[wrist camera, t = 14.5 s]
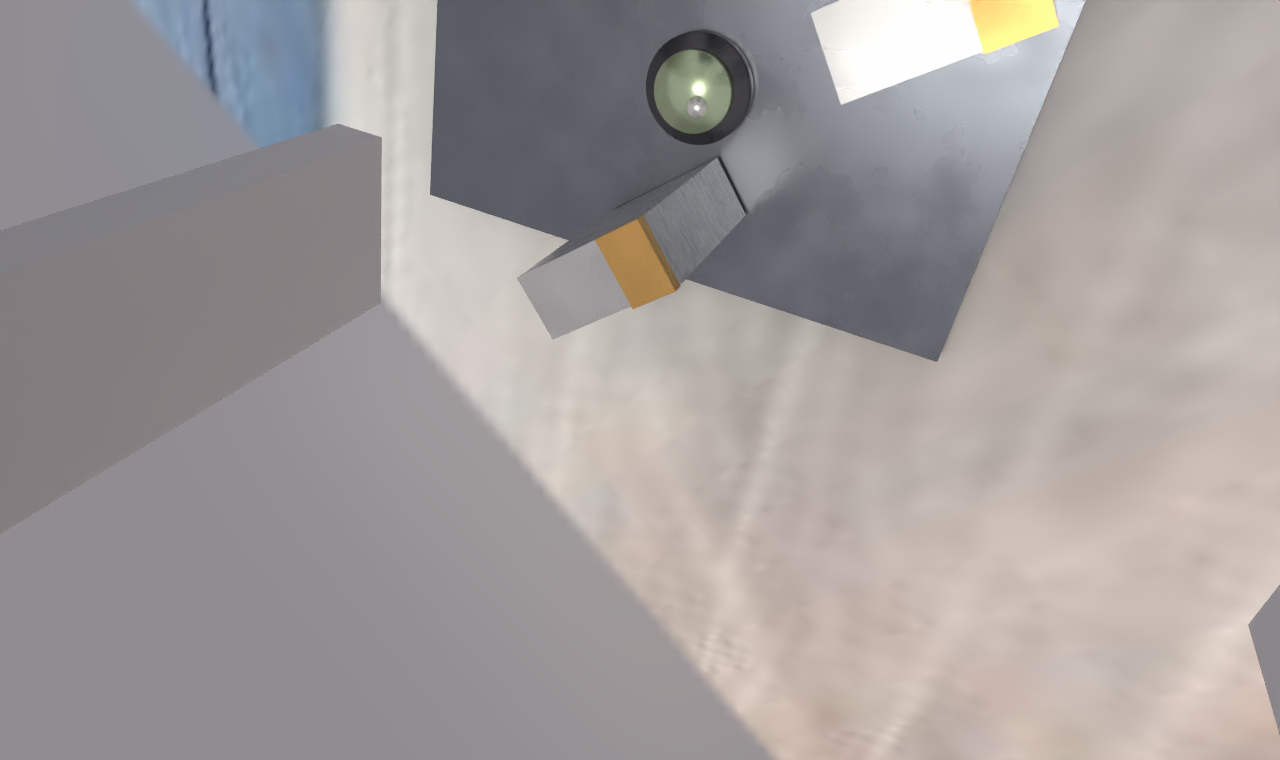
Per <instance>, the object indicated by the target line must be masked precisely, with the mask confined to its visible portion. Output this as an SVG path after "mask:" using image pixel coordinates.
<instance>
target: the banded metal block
mask: <svg viewBox="0 0 1280 760" xmlns="http://www.w3.org/2000/svg"><path fill="white" fill-rule="evenodd" d="M745 215H746V214H745V212H744V210H743V208H742V206H741V204H740V202H739V200H738V198H737V196H736V194H735V192H734V190H733V188H732V186H731V184H730V182H729V180H728V178H727V176H726V174H725V172H724V170H723V168H722V166H721V164H720V162H719V160H718V158H715V159H713V160H711V161H709V162H707V163H705V164H703V165H701V166H699V167H698V168H696V169H694V170H692V171H690V172H688V173H686V174H684V175H682V176H680V177H678V178H676V179H674V180H672V181H670V182H668V183H666V184H664V185H662V186H660V187H658V188H656V189H654V190H652V191H650V192H648V193H646V194H644V195H642V196H640V197H638V198H636V199H634V200H632V201H630V202H628V203H626V204H624V205H622V206H620V207H618V208H616V209H614V210H612V211H610V212H609V213H607V214H606V215H604V216H603V217H601V218H600V219H599V220H597V221H596V222H594V223H593V224H592V225H590V226H589V227H587V228H586V229H585V230H583V231H582V232H580V233H579V234H578V235H576V236H575V237H573V238H572V239H571V240H569V241H568V242H566V243H565V244H564V245H562V246H561V247H560V248H558V249H557V250H555V251H554V252H553V253H551V254H550V255H548V256H547V257H546V258H544V259H543V260H541V261H540V262H539V263H537V264H536V265H534V266H533V267H532V268H530V269H529V270H527V271H526V272H525V273H523V274H522V275H521V276H519V277H518V278H517V279H518V280H519V282H520V284H521V285H522V287H523V289H524V291H525V292H526V294H527V296H528V297H529V299H530V301H531V303H532V304H533V306H534V308H535V310H536V311H537V313H538V315H539V316H540V318H541V320H542V322H543V323H544V325H545V327H546V328H547V330H548V332H549V334H550V335H551V337H552V339H555V338H557V337H560V336H562V335H564V334H567V333H569V332H571V331H574V330H576V329H578V328H581V327H583V326H585V325H588V324H590V323H593V322H595V321H597V320H600V319H602V318H604V317H607V316H609V315H611V314H614V313H616V312H618V311H621V310H623V309H625V308H628V307H630V306H631V307H632V309H634V308H637V307H639V306H642V305H644V304H646V303H649V302H651V301H653V300H656V299H658V298H661V297H663V296H665V295H668V294H670V293H672V292H675V291H676V290H677V289H678V288H679V287H680V284H681V283H682V282H683V281H684V280H685V279H686V278H687V277H688V276H689V275H690V274H691V273H692V271H693V270H694V269H695V268H696V267H697V266H698V265H699V264H700V263H701V262H702V261H703V260H704V259H705V258H706V257H707V256H708V255H709V253H710V252H711V251H712V250H713V249H714V248H715V247H716V246H717V245H718V244H719V243H720V242H721V241H722V240H723V239H724V238H725V237H726V235H727V234H728V233H729V232H730V231H731V230H732V229H733V228H734V227H735V226H736V225H737V224H738V223H739V222H740V221H741V220H742V218H743V217H744V216H745Z"/></svg>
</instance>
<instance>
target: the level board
mask: <svg viewBox="0 0 1280 760" xmlns="http://www.w3.org/2000/svg"><path fill="white" fill-rule="evenodd" d="M835 1H837V0H438V4H437V30H436V56H435V82H434V108H433V134H432V160H431V186H430V195H433V196H436V197H439V198H442V199H445V200H448V201H451V202H454V203H457V204H460V205H463V206H467V207H470V208H473V209H476V210H479V211H482V212H485V213H488V214H491V215H494V216H497V217H500V218H503V219H506V220H509V221H512V222H515V223H518V224H521V225H524V226H527V227H530V228H533V229H536V230H539V231H542V232H545V233H548V234H551V235H554V236H557V237H560V238H563V239H567V240H571V239H572V238H573V237H575V236H576V235H578V234H579V233H580V232H582V231H583V230H585V229H586V228H587V227H589V226H590V225H592V224H593V223H594V222H596V221H597V220H599V219H600V218H601V217H603V216H604V215H606V214H607V213H609V212H610V211H612V210H614V209H616V208H618V207H620V206H622V205H624V204H626V203H628V202H630V201H632V200H634V199H636V198H638V197H640V196H642V195H644V194H646V193H648V192H650V191H652V190H654V189H656V188H658V187H660V186H662V185H664V184H666V183H668V182H670V181H672V180H674V179H676V178H678V177H680V176H682V175H684V174H686V173H688V172H690V171H692V170H694V169H696V168H698V167H699V166H701V165H703V164H705V163H707V162H709V161H711V160H713V159H715V158H718V160H719V162H720V164H721V166H722V168H723V170H724V172H725V174H726V176H727V178H728V180H729V182H730V184H731V186H732V188H733V190H734V192H735V194H736V196H737V198H738V200H739V202H740V204H741V206H742V208H743V210H744V212H745V214H746V215H745V216H744V217H743V218H742V220H741V221H740V222H739V223H738V224H737V225H736V226H735V227H734V228H733V229H732V230H731V231H730V232H729V233H728V234H727V235H726V237H725V238H724V239H723V240H722V241H721V242H720V243H719V244H718V245H717V246H716V247H715V248H714V249H713V250H712V251H711V252H710V253H709V255H708V256H707V257H706V258H705V259H704V260H703V261H702V262H701V263H700V264H699V265H698V266H697V267H696V268H695V269H694V270H693V271H692V273H691V274H690V275H689V276H688V277H687V278H686V279H688V280H691V281H694V282H697V283H700V284H703V285H706V286H709V287H712V288H715V289H718V290H721V291H724V292H727V293H730V294H733V295H736V296H739V297H742V298H745V299H748V300H751V301H754V302H757V303H760V304H763V305H766V306H770V307H773V308H776V309H779V310H782V311H785V312H788V313H791V314H794V315H797V316H800V317H803V318H806V319H809V320H812V321H815V322H818V323H821V324H824V325H827V326H830V327H833V328H836V329H839V330H842V331H845V332H848V333H851V334H854V335H857V336H860V337H863V338H866V339H870V340H873V341H876V342H879V343H882V344H885V345H888V346H891V347H894V348H897V349H900V350H903V351H906V352H909V353H912V354H915V355H918V356H921V357H924V358H927V359H930V360H933V361H936V362H937V361H938V358H939V356H940V353H941V351H942V349H943V346H944V344H945V341H946V339H947V336H948V334H949V331H950V329H951V327H952V324H953V322H954V319H955V317H956V314H957V312H958V310H959V307H960V305H961V302H962V300H963V297H964V295H965V293H966V290H967V288H968V285H969V283H970V280H971V278H972V276H973V273H974V271H975V268H976V266H977V263H978V261H979V258H980V256H981V254H982V251H983V249H984V246H985V244H986V241H987V239H988V237H989V234H990V232H991V229H992V227H993V224H994V222H995V220H996V217H997V215H998V212H999V210H1000V207H1001V205H1002V203H1003V200H1004V198H1005V195H1006V193H1007V190H1008V188H1009V186H1010V183H1011V181H1012V178H1013V176H1014V173H1015V171H1016V168H1017V166H1018V164H1019V161H1020V159H1021V156H1022V154H1023V151H1024V149H1025V147H1026V144H1027V142H1028V139H1029V137H1030V134H1031V132H1032V130H1033V127H1034V125H1035V122H1036V120H1037V117H1038V115H1039V113H1040V110H1041V108H1042V105H1043V103H1044V100H1045V98H1046V95H1047V93H1048V91H1049V88H1050V86H1051V83H1052V81H1053V78H1054V76H1055V74H1056V71H1057V69H1058V66H1059V64H1060V61H1061V59H1062V57H1063V54H1064V52H1065V49H1066V47H1067V44H1068V42H1069V40H1070V37H1071V35H1072V32H1073V30H1074V27H1075V25H1076V22H1077V20H1078V18H1079V15H1080V13H1081V10H1082V8H1083V5H1084V3H1085V1H1086V0H1055V2H1056V9H1057V16H1058V23H1059V26H1058V27H1056V28H1053V29H1050V30H1048V31H1045V32H1042V33H1040V34H1037V35H1034V36H1032V37H1029V38H1026V39H1024V40H1021V41H1018V42H1016V43H1013V44H1010V45H1008V46H1005V47H1002V48H1000V49H997V50H994V51H992V52H989V53H986V54H983V51H982V52H980V53H977V54H974V55H972V56H969V57H966V58H964V59H961V60H958V61H956V62H953V63H950V64H948V65H945V66H943V67H940V68H937V69H935V70H932V71H929V72H927V73H924V74H921V75H919V76H916V77H913V78H911V79H908V80H906V81H903V82H900V83H898V84H895V85H892V86H890V87H887V88H884V89H882V90H879V91H876V92H874V93H871V94H868V95H866V96H863V97H861V98H858V99H855V100H853V101H850V102H847V103H845V104H842V105H841V103H840V100H839V97H838V94H837V91H836V88H835V85H834V82H833V79H832V76H831V73H830V70H829V67H828V64H827V61H826V58H825V55H824V52H823V49H822V46H821V43H820V40H819V37H818V34H817V31H816V28H815V25H814V22H813V19H812V16H811V13H812V12H814V11H816V10H818V9H821V8H823V7H825V6H827V5H829V4H831V3H833V2H835Z"/></svg>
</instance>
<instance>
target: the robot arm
mask: <svg viewBox="0 0 1280 760" xmlns="http://www.w3.org/2000/svg"><path fill="white" fill-rule="evenodd" d="M381 157H382V138H381V137H378V136H375V135H372V134H369V133H366V132H362V131H359V130H356V129H353V128H350V127H347V126H344V125H340V124H336V125H333V126H330V127H326V128H323V129H320V130H317V131H314V132H311V133H307V134H304V135H301V136H298V137H295V138H292V139H288V140H285V141H282V142H279V143H276V144H273V145H269V146H266V147H263V148H260V149H257V150H254V151H251V152H247V153H244V154H241V155H238V156H235V157H231V158H228V159H225V160H222V161H219V162H216V163H213V164H209V165H206V166H203V167H200V168H197V169H193V170H190V171H187V172H184V173H181V174H178V175H174V176H171V177H168V178H165V179H162V180H159V181H155V182H152V183H149V184H146V185H143V186H140V187H136V188H133V189H130V190H127V191H124V192H121V193H117V194H114V195H111V196H108V197H105V198H102V199H99V200H95V201H92V202H89V203H86V204H83V205H79V206H77V207H73V208H70V209H67V210H64V211H60V212H57V213H54V214H51V215H48V216H45V217H41V218H38V219H35V220H32V221H29V222H26V223H22V224H20V225H16V226H13V227H10V228H7V229H4V230H0V534H1V533H2V532H4V531H5V530H7V529H9V528H11V527H12V526H14V525H16V524H17V523H19V522H20V521H22V520H24V519H25V518H27V517H29V516H30V515H32V514H34V513H35V512H37V511H39V510H40V509H42V508H44V507H45V506H47V505H49V504H50V503H52V502H54V501H55V500H57V499H58V498H60V497H62V496H63V495H65V494H67V493H68V492H70V491H72V490H73V489H75V488H76V487H78V486H80V485H81V484H83V483H85V482H86V481H88V480H90V479H91V478H93V477H95V476H96V475H98V474H100V473H101V472H103V471H104V470H106V469H108V468H109V467H111V466H113V465H114V464H116V463H118V462H119V461H121V460H123V459H124V458H126V457H128V456H129V455H131V454H132V453H134V452H136V451H138V450H139V449H141V448H142V447H144V446H146V445H147V444H149V443H151V442H152V441H154V440H156V439H157V438H159V437H160V436H162V435H164V434H166V433H167V432H169V431H170V430H172V429H174V428H175V427H177V426H179V425H180V424H182V423H184V422H185V421H187V420H189V419H190V418H192V417H194V416H195V415H197V414H198V413H200V412H202V411H203V410H205V409H207V408H208V407H210V406H212V405H213V404H215V403H217V402H218V401H220V400H222V399H223V398H225V397H226V396H228V395H230V394H231V393H233V392H235V391H236V390H238V389H240V388H241V387H243V386H244V385H246V384H248V383H250V382H251V381H253V380H254V379H256V378H258V377H259V376H261V375H263V374H264V373H266V372H268V371H269V370H271V369H273V368H274V367H276V366H277V365H279V364H281V363H282V362H284V361H286V360H287V359H289V358H291V357H292V356H294V355H296V354H297V353H299V352H301V351H302V350H304V349H306V348H307V347H309V346H310V345H312V344H314V343H315V342H317V341H319V340H320V339H322V338H324V337H325V336H327V335H328V334H330V333H332V332H333V331H335V330H337V329H338V328H340V327H342V326H343V325H345V324H347V323H348V322H350V321H352V320H353V319H355V318H357V317H358V316H360V315H361V314H363V313H365V312H366V311H368V310H370V309H371V308H373V307H375V306H376V305H378V304H380V300H381ZM1249 629H1250V632H1251V636H1252V639H1253V643H1254V646H1255V650H1256V653H1257V657H1258V660H1259V664H1260V667H1261V671H1262V674H1263V678H1264V681H1265V685H1266V688H1267V692H1268V695H1269V699H1270V702H1271V706H1272V709H1273V713H1274V716H1275V720H1276V723H1277V727H1278V730H1279V734H1280V585H1279V586H1278V588H1277V589H1276V590H1275V592H1274V593H1273V594H1272V595H1271V597H1270V598H1269V599H1268V600H1267V602H1266V603H1265V604H1264V605H1263V607H1262V608H1261V609H1260V611H1259V612H1258V613H1257V614H1256V616H1255V617H1254V618H1253V619H1252V621H1251V622H1250V623H1249Z"/></svg>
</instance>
